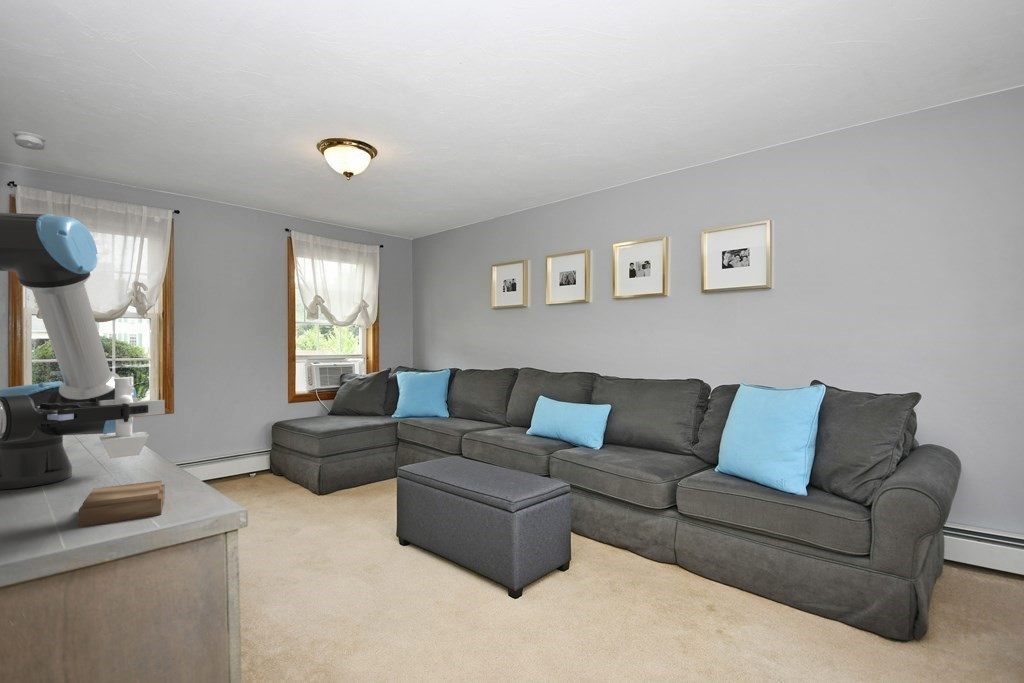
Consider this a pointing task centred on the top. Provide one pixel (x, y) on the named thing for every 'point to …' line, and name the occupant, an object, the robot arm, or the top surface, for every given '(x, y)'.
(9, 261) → the robot arm
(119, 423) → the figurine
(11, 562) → the top surface
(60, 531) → the top surface
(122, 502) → the plinth
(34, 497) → the top surface
